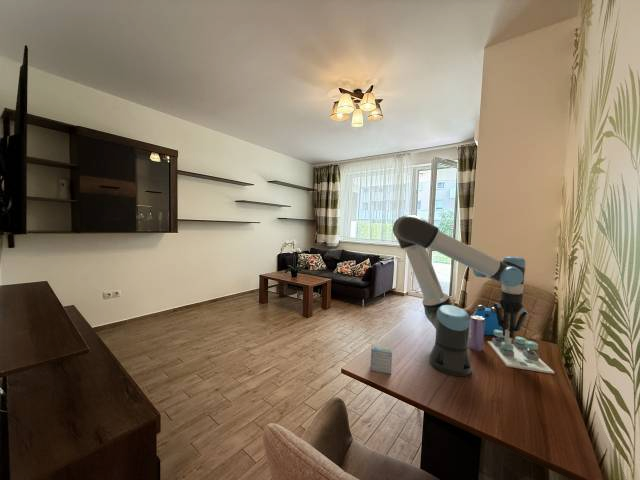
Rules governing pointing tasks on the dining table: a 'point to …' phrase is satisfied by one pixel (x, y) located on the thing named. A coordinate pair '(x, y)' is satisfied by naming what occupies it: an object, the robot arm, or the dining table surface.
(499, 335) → the button
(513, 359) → the board
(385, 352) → the medicine box
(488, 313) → the alarm clock
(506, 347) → the button
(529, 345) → the button
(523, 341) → the button
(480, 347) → the beverage can
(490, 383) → the dining table surface
